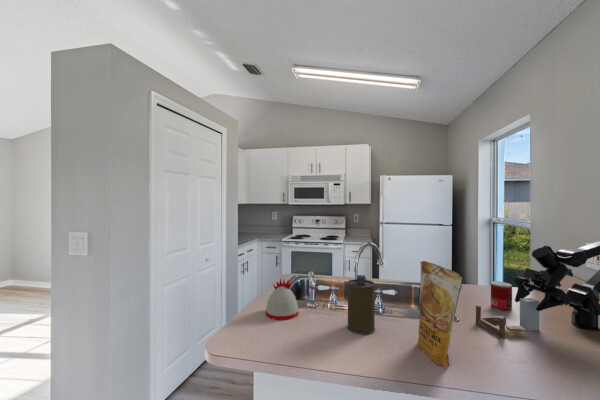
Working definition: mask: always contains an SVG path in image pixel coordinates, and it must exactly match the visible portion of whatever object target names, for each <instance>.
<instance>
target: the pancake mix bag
mask: <svg viewBox="0 0 600 400" xmlns="http://www.w3.org/2000/svg"><path fill="white" fill-rule="evenodd" d="M462 286H463V277H462V275H461V274H460V273H458V272H457V271H454V270H451V269H449V268H445V267H443V266H441V265H438V264H436V263H432V262H430V261H426V260H423V261H420V284H419V302H418V303H419V322H418V323H419V325H418V339H417V346H418V348H419V349H420V350H421V351H422V352H423V353H424V354H425V355H426V356H427V357H429V358H430V360H431V361H432V362H433V363H434V364H435V365H437V366H439V367H444V368H445V369H447V370H448V369H449V367H450V361H449V359H450V358H449V355H448V354H449V353H448V352H449V347H450V343H451V335H452V331H453V325H454V321H455V320H454V319H455V315H456V313H457V307H458V302H459V297H460V293H461V290H462Z"/></svg>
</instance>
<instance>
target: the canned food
mask: <svg viewBox="0 0 600 400" xmlns="http://www.w3.org/2000/svg"><path fill="white" fill-rule="evenodd" d="M490 305H491V307H492V308H493V309H494V310H500V311H507V312H509V311H511V310H512V309H513V285H512V284H511V283H509V282H505V281H495V280H493V281H491V282H490Z"/></svg>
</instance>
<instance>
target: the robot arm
mask: <svg viewBox="0 0 600 400" xmlns="http://www.w3.org/2000/svg"><path fill="white" fill-rule="evenodd" d="M598 256H600V240H599V241H595V242H592V243H589V244H586V245H583V246H580V247H575V248H564V249H563V248H561V249H559V250H558V249H557V250H556V252H555V251H554V250H553V249H552V247H551V246H550V245H544V246H543V247H542V246H541V247H539V248H536V249H534V250H533V251H532V252H531V257H532V258H533V259H535V261H536V262H537V263H538V264H539V265H540V266H541V267H542V268H544V270H543V269H542V270H541V269H540V270H539V271H538V270H535V269H531V268H528V267H527V268H525V270H524V272H523V275H522V276H516V277H515V278H514V279H513V282H515V284H516V286H517V291H516V293H515V298H514V301H515V303H520V299H521V298H527V297H528V296H529V295H531V292H533V291H537V292H540V293H542V294H544V297H543V299H542V300H541V301H539V305H538V306H537V308H536V310H537V311H539V312H541V311H543V310H547V309H550V308H554V307H558V306H559V307H562V306H563V305H564V306H568V307H570V308H573V311H571V321H570V322H571V323H572V324H574V325H575V326H576V327H578V329H579V328H580V329H585V330H594V331H600V327H599V316H600V269H598V270H597V271H596V272H595V273H594V274H593V276H591V277H590V278H589V279H588V280H587V281H586V282H585V283H584V284H579V283H577V282H575V283H573V284H572V286H570V288H568V289H567V292H565V290H563V289H561V288H560V287H562V284H561V282H562V280H564V278H565V277H566V276H567V277H574V274H573V269H572V268H568V267H573V268H579V267H581V266H583V265H585V264H586V263H587V261H588V260H589V259H591V258H595V257H598ZM567 266H568V267H567ZM525 277H527V278H525ZM531 282H532V283H531ZM557 287H558V288H557Z"/></svg>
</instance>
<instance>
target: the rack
mask: <svg viewBox="0 0 600 400" xmlns="http://www.w3.org/2000/svg"><path fill="white" fill-rule="evenodd" d="M475 324H477V325H478V326H480V327H482V328H483V329H484V330H487V332H488V331H489V332H490V333H492V334H493V335H495V336H496V337H499V338H500V339H502V340H503V339H505V338H506V336H505V329H506V324H507V317H506V316H504V315H494V316H493V315H492V316H491V315H490V316H489V315H488V316H482V308H481V306H480V305H475ZM494 324H495V325H496V324H498V326H497V325H496V326H495V325H494Z"/></svg>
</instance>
